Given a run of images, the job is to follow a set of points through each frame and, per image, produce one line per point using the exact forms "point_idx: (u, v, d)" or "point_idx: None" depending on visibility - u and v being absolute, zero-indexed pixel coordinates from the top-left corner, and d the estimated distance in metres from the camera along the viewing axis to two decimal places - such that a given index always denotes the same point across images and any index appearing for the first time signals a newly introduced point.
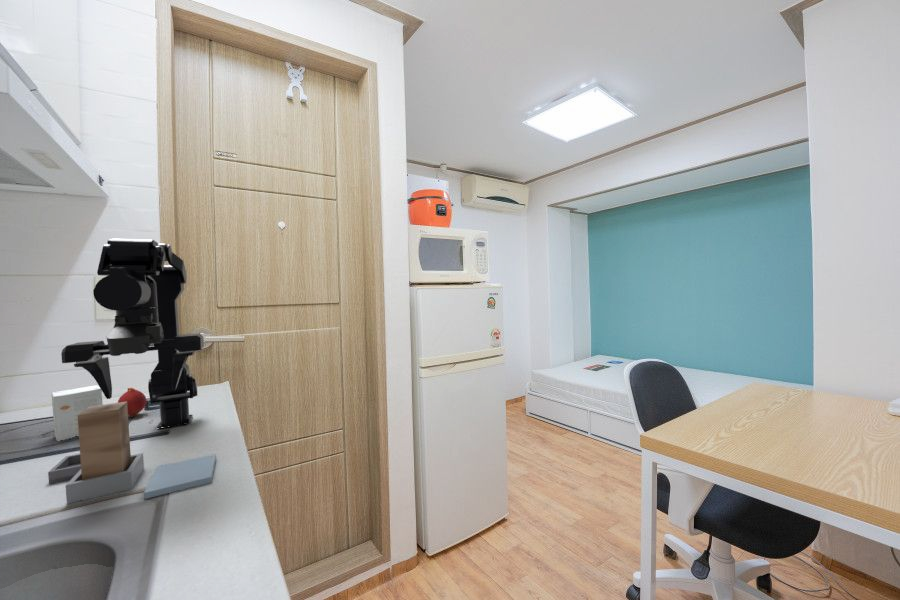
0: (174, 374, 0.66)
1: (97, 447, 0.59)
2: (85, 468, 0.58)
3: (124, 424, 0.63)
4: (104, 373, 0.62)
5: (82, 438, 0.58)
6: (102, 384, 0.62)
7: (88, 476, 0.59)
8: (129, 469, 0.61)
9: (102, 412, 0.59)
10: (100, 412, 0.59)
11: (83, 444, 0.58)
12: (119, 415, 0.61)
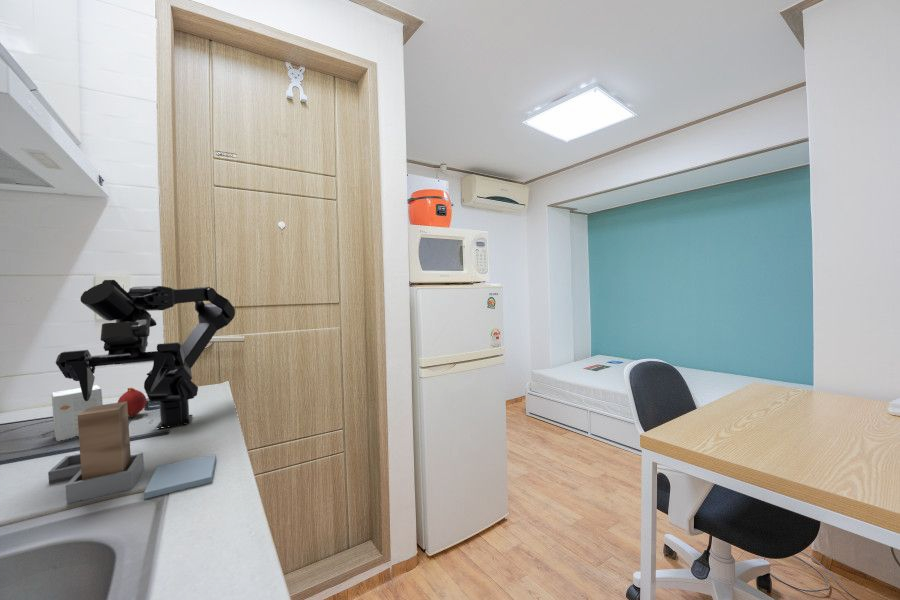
0: (152, 375, 0.72)
1: (97, 447, 0.59)
2: (85, 468, 0.58)
3: (124, 424, 0.63)
4: (88, 377, 0.68)
5: (82, 438, 0.58)
6: (83, 384, 0.67)
7: (88, 476, 0.59)
8: (129, 469, 0.61)
9: (102, 412, 0.59)
10: (100, 412, 0.59)
11: (83, 444, 0.58)
12: (119, 415, 0.61)
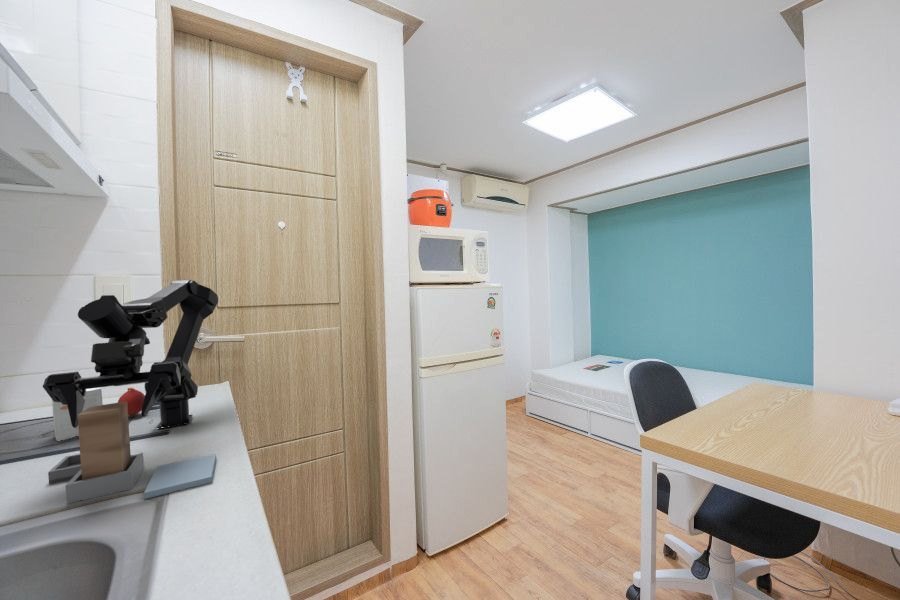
0: (146, 398, 0.67)
1: (97, 447, 0.59)
2: (85, 468, 0.58)
3: (124, 424, 0.63)
4: (77, 401, 0.64)
5: (82, 438, 0.58)
6: (72, 409, 0.62)
7: (88, 476, 0.59)
8: (129, 469, 0.61)
9: (102, 412, 0.59)
10: (100, 412, 0.59)
11: (83, 444, 0.58)
12: (119, 415, 0.61)
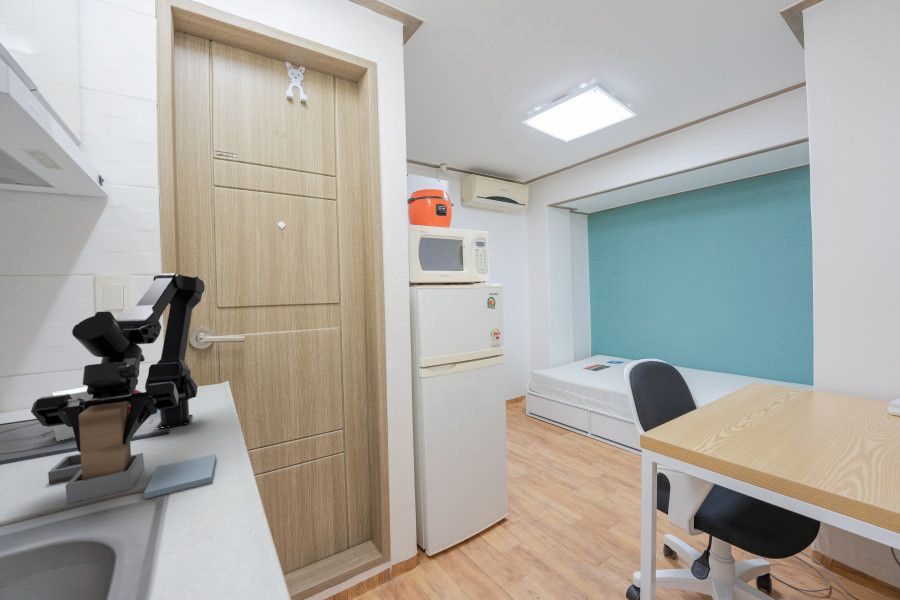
0: (128, 423, 0.63)
1: (98, 447, 0.59)
2: (85, 468, 0.58)
3: (125, 424, 0.63)
4: None
5: (83, 438, 0.58)
6: (78, 433, 0.59)
7: (88, 476, 0.59)
8: (129, 469, 0.61)
9: (103, 412, 0.59)
10: (101, 412, 0.59)
11: (84, 444, 0.58)
12: (120, 415, 0.61)
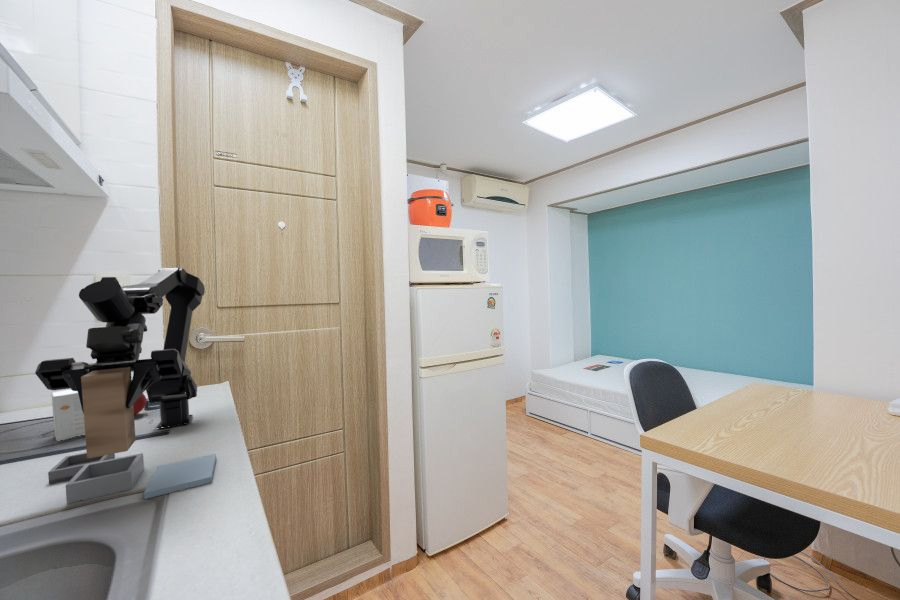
0: (131, 388, 0.63)
1: (101, 410, 0.59)
2: (89, 430, 0.58)
3: (128, 389, 0.62)
4: None
5: (86, 400, 0.58)
6: None
7: (92, 438, 0.58)
8: (129, 469, 0.61)
9: (105, 375, 0.59)
10: (103, 375, 0.59)
11: (87, 406, 0.58)
12: (123, 379, 0.60)
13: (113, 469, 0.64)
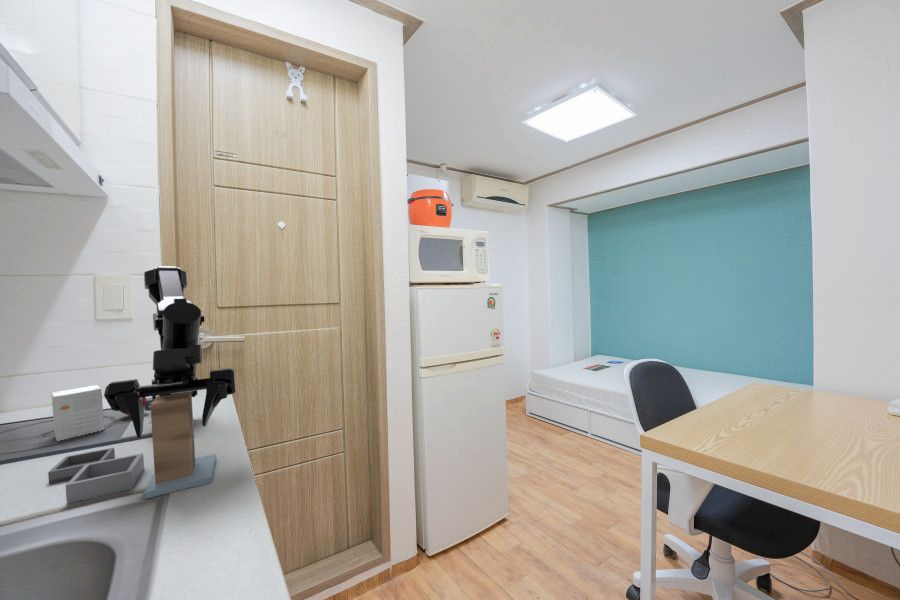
0: (205, 406, 0.65)
1: (168, 436, 0.60)
2: (157, 456, 0.60)
3: (190, 414, 0.64)
4: (140, 410, 0.61)
5: (154, 426, 0.59)
6: (136, 419, 0.60)
7: (160, 464, 0.60)
8: (129, 469, 0.61)
9: (173, 401, 0.61)
10: (171, 401, 0.61)
11: (155, 432, 0.60)
12: (188, 405, 0.62)
13: (113, 469, 0.64)
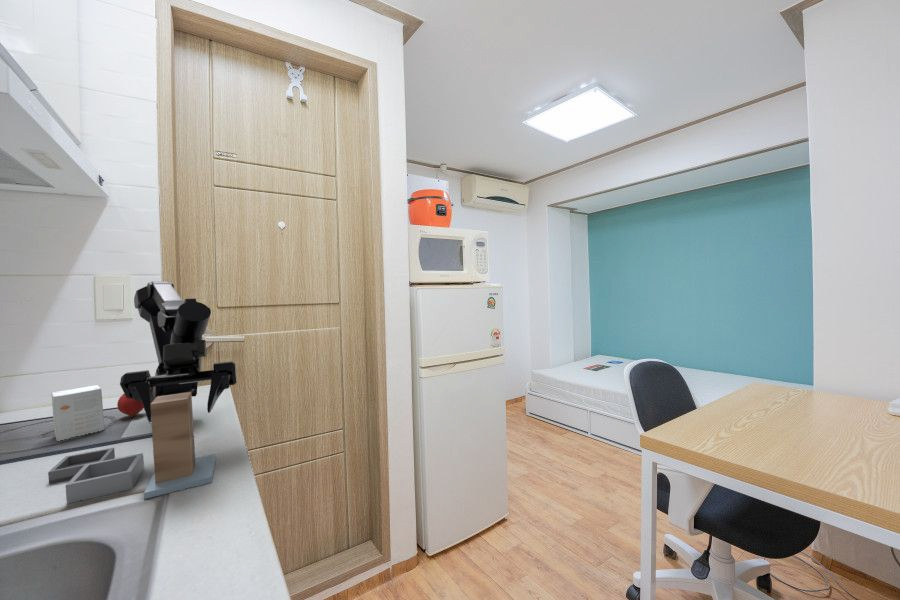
0: (210, 395, 0.73)
1: (168, 436, 0.60)
2: (157, 456, 0.60)
3: (190, 414, 0.64)
4: (150, 398, 0.69)
5: (154, 426, 0.59)
6: (147, 405, 0.68)
7: (160, 464, 0.60)
8: (129, 469, 0.61)
9: (173, 401, 0.61)
10: (171, 401, 0.61)
11: (155, 432, 0.60)
12: (188, 405, 0.62)
13: (113, 469, 0.64)
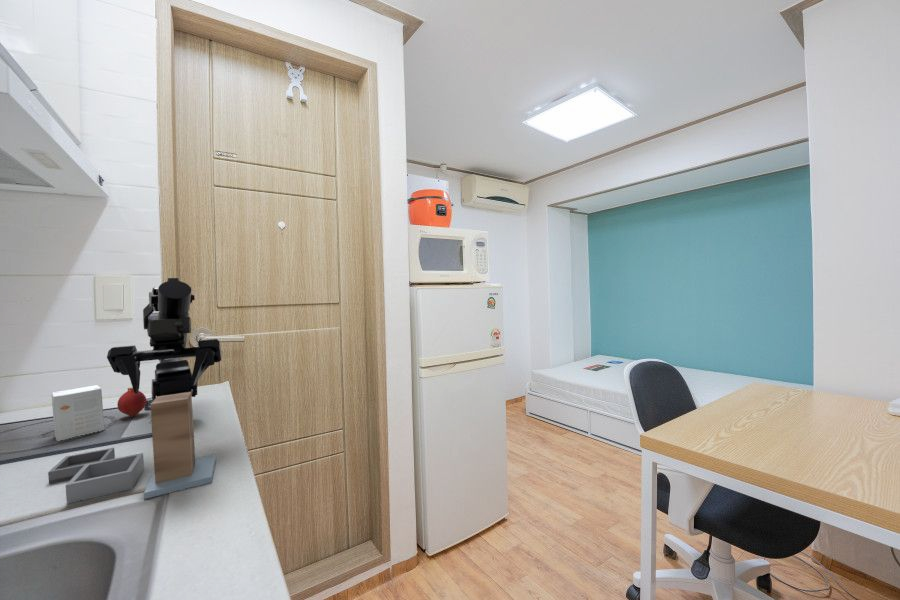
0: (194, 369, 0.76)
1: (168, 436, 0.60)
2: (157, 456, 0.60)
3: (190, 414, 0.64)
4: (136, 371, 0.72)
5: (154, 426, 0.59)
6: (133, 377, 0.70)
7: (160, 464, 0.60)
8: (129, 469, 0.61)
9: (173, 401, 0.61)
10: (171, 401, 0.61)
11: (155, 432, 0.60)
12: (188, 405, 0.62)
13: (113, 469, 0.64)
